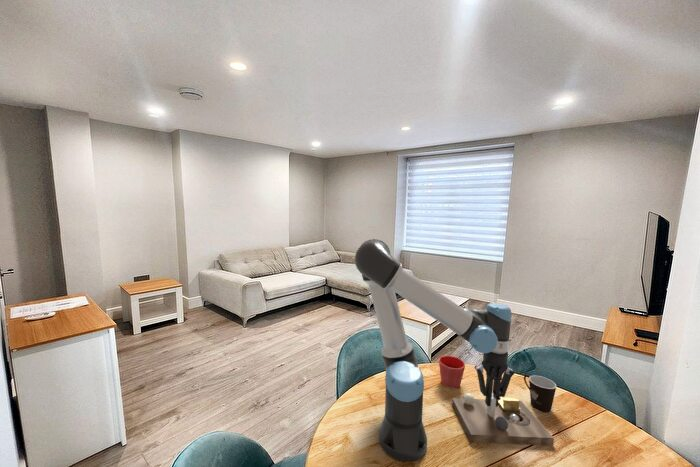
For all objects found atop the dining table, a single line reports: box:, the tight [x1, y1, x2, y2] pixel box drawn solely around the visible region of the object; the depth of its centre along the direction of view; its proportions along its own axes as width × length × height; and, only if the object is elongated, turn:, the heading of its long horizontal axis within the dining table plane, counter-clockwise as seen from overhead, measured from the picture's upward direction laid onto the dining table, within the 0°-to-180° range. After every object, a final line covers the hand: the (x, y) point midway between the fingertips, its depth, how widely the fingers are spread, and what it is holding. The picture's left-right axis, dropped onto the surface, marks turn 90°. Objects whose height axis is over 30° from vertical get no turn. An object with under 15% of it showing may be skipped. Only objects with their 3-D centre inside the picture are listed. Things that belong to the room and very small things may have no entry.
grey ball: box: [495, 417, 508, 430], centre depth 93 cm, size 4×4×4 cm
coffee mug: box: [523, 374, 557, 414], centre depth 109 cm, size 12×9×10 cm
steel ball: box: [509, 413, 520, 422], centre depth 99 cm, size 3×3×3 cm
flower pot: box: [438, 355, 466, 389], centre depth 122 cm, size 11×11×10 cm
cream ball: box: [463, 392, 475, 405], centre depth 105 cm, size 4×4×4 cm
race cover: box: [498, 397, 520, 411], centre depth 104 cm, size 6×6×4 cm
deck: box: [451, 397, 555, 446], centre depth 99 cm, size 26×18×2 cm
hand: (490, 414), depth 99 cm, fingers closed
